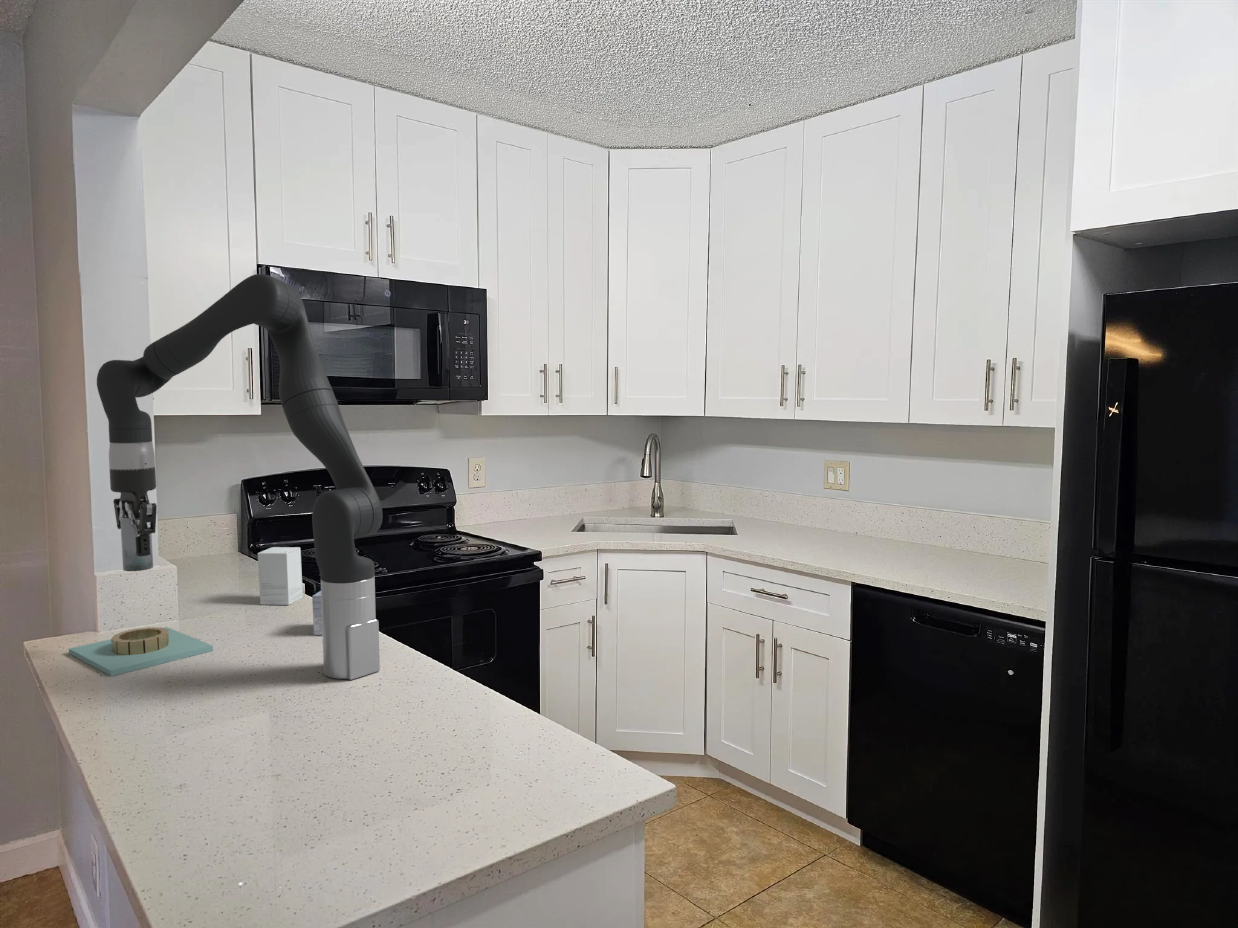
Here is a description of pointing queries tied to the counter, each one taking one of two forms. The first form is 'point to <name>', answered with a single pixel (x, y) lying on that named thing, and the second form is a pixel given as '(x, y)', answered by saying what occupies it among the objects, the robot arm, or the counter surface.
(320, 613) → the medicine box
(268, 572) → the supplement box
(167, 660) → the ring mat
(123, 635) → the ring collar
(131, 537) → the cylinder
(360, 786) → the counter surface
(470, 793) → the counter surface
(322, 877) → the counter surface
